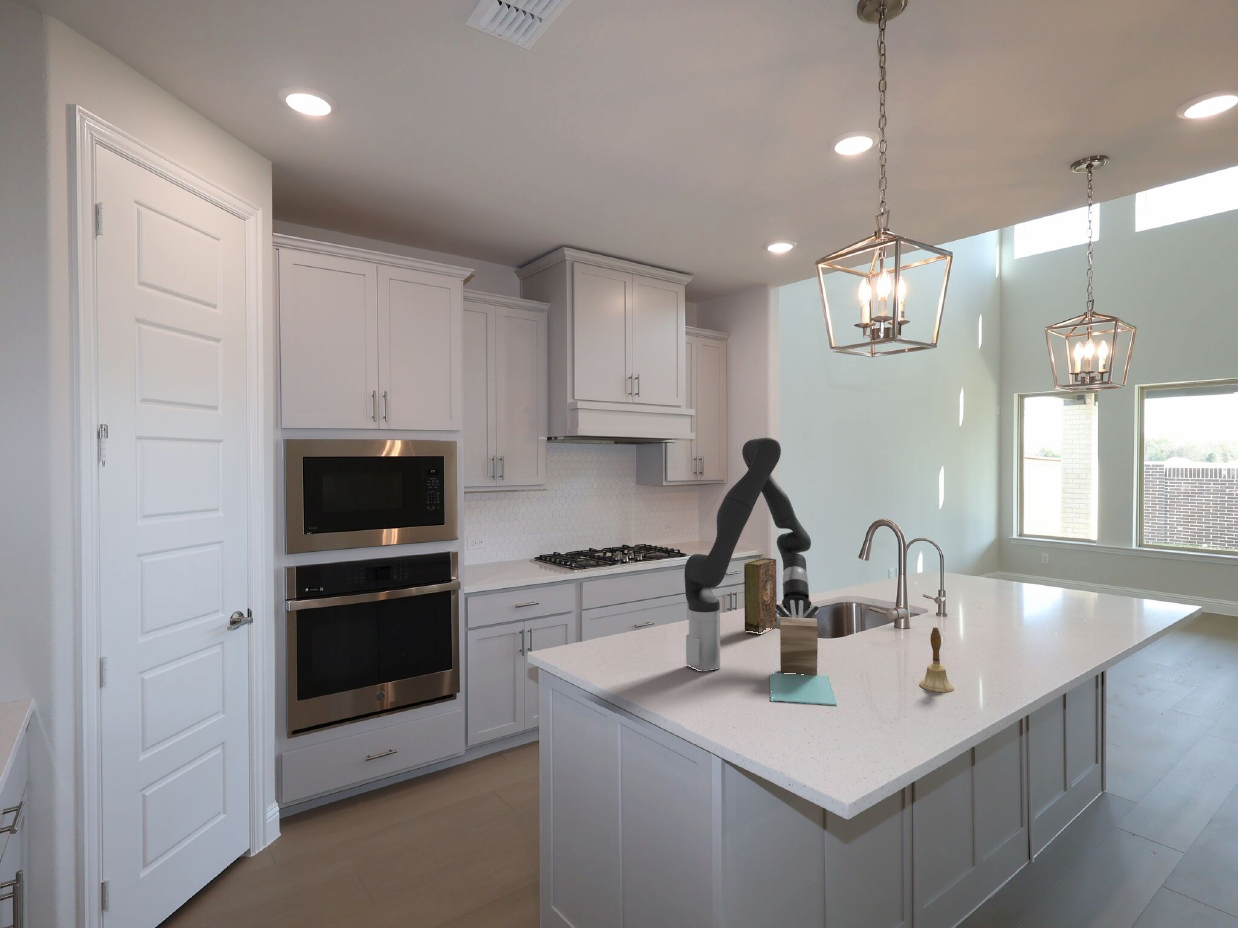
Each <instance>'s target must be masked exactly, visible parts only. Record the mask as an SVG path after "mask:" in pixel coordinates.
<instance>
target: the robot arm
mask: <svg viewBox="0 0 1238 928" xmlns="http://www.w3.org/2000/svg"><path fill="white" fill-rule="evenodd" d="M741 453H742V458H743V461H744V463H745V464H746V467H747V471H746V473H745V474H744V475H742V477H741V478H740V479H739V480H738V481H737V482H736V483H735V484H734V485H733V486H732V487H731V488H730V489H729V490H728V492H727V493H726V494H725V496H724V498H723V500H722V502H721V505H720V506H719V508H718V510H717V514H716V537H715V541H714V543H713V545H712V548H711V550H710V551H709V553H708V554H702V553H697V554H696V553H695V554H694V553H693V554H692V555H690V556H689V557H688V558H687V560H686V563H685V565H684V588H685V591H684V592H685V598H686V601H687V604H688V634H686V635H685V648H686V649H685V655H686V657H685V658H686V659H685V661H686V663H685V665H686V664H687V665H690V666H691V667H694V668H696V669H698V670H711V669H716V668H719V667H720V668H721V607H720V606H721V604H720V600H719V598H718V597H717V596H716V595H715V594H714V593H713V591H712V589H713V588H716V587H718V586H719V585H720V584H721V583H722V582H723V580H724V578H725V576H726V573H727V571H728V568H729V566H730V563H731V560H732V557H733V554H734V551H735V549H736V546H737V544H738V541H739V539H740V538H741V535H742V532H743V531H744V527H745V526H746V524H747V522H748V520H749V518H750V517H751V515H752V512H753V510H754V508H755V504H756V503H757V500H758V499H759V497H760V495H761V493H762V496H763V498H764V500H765V502H766V504H767V507H768V510H769V513H770V515H771V517H772V520H773V523H774V525H775V527H776V528H778V529H784V530H785V529H786V530H791V531H790V532H785V533H782V534H780V535H778V536H777V539H776V546H777V548H778V551H779V553H780V556H781V560H782V569H783V570H782V572H783V575H782V600H781V603H780V604H777V605H776V606H775V611H776V612H777V616H779V618H780V617H790V618H815V617H816V616H817V615H818V613H819V608H820V607H819V606H818V605H813V604H812V601H811V599H810V591H809V577H808V572H807V559H806V558H805V556H804V554H803V555H802V554H800V553H804V552H808V551H809V550H810V548H811V547H812V546H811V545H812V540H811V538H810V536H809V535H810V534H808V532H807V530H806V529H805V528H804V527H803V525H802V524H801V522H800V521H799V520H798V518H797V516H796V514H795V511H794V507H793V505H792V503H791V500H790V498H789V497H788V495H787V493H786V492H785V491H784V490H783V488H782V487H781V486H780V485H779V484H778V483H777V481H776V480H775V478H774V477H773V475H772V473H773V471H774V470H775V468H776V466H777V465H778V463H779V460H780V459H781V456H782V455H781V454H782V449H781V445H780V442H779V440H777V439H776V438H773V437H759V438H754V439H749V440H748V441H746V442H745V443H744V444H743V446H742V450H741ZM808 611H809V612H808ZM807 612H808V613H807ZM805 614H806V616H805V617H803V616H804V615H805ZM797 616H798V617H797Z"/></svg>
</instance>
